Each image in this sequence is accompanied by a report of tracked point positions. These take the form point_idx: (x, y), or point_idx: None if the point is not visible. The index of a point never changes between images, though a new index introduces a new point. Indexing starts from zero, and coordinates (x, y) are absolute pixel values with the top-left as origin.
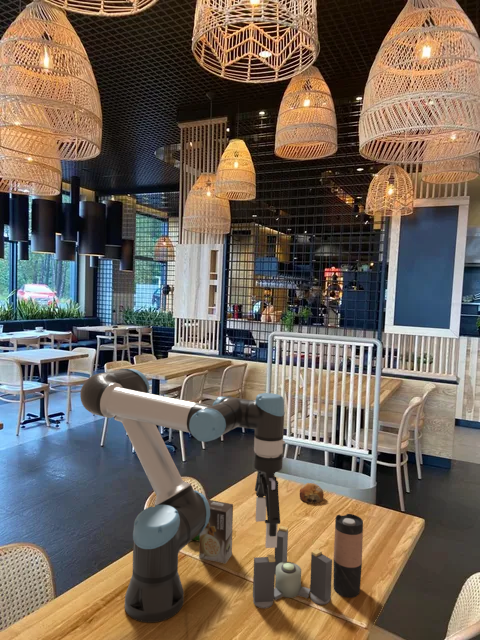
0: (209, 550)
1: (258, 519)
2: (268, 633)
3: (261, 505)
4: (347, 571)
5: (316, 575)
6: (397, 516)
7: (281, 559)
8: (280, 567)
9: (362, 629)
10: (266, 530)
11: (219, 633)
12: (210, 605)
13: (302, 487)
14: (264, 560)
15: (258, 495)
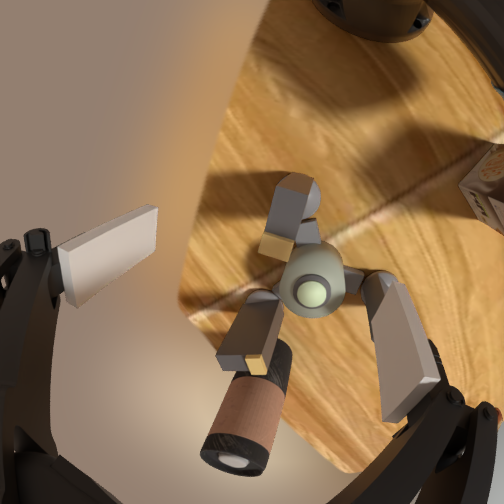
0: (493, 160)
1: (389, 296)
2: (211, 165)
3: (395, 362)
4: (236, 374)
5: (254, 326)
6: None
7: (367, 299)
8: (326, 277)
9: (183, 312)
10: (98, 229)
11: (241, 75)
12: (331, 82)
13: (499, 423)
14: (278, 221)
15: (431, 401)
